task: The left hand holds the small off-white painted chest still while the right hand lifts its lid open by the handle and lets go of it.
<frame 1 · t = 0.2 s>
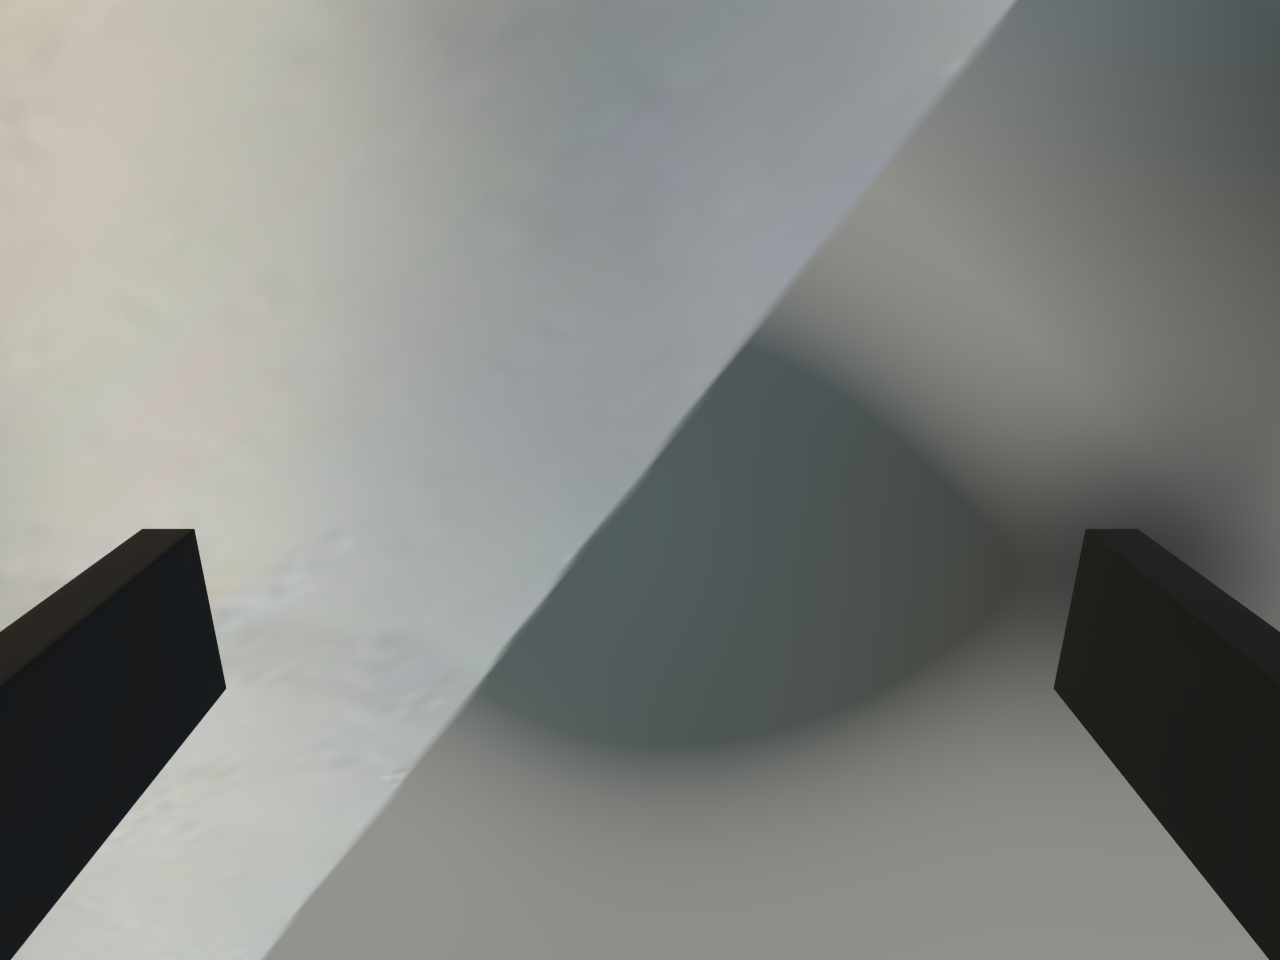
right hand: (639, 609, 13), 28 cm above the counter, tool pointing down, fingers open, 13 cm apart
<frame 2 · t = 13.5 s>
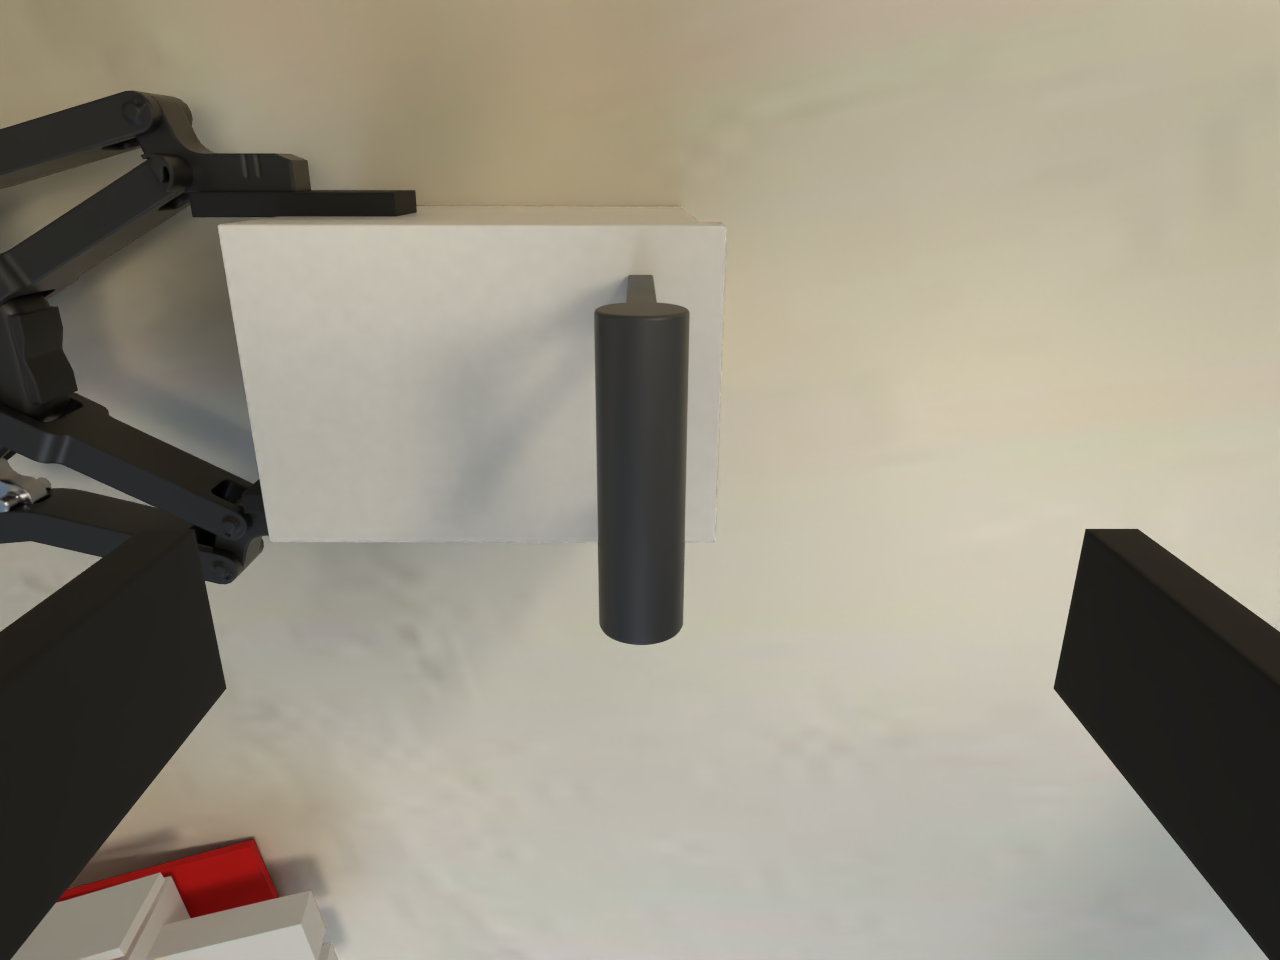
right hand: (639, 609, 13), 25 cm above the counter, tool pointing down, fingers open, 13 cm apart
left hand: (419, 355, 30), fingers closed on chest, 9 cm apart
lid: (460, 427, 22), point 16 cm above the counter, hinge at 0.0°
toy: (94, 920, 48), on the counter
chest: (525, 322, 36), on the counter, touching left hand
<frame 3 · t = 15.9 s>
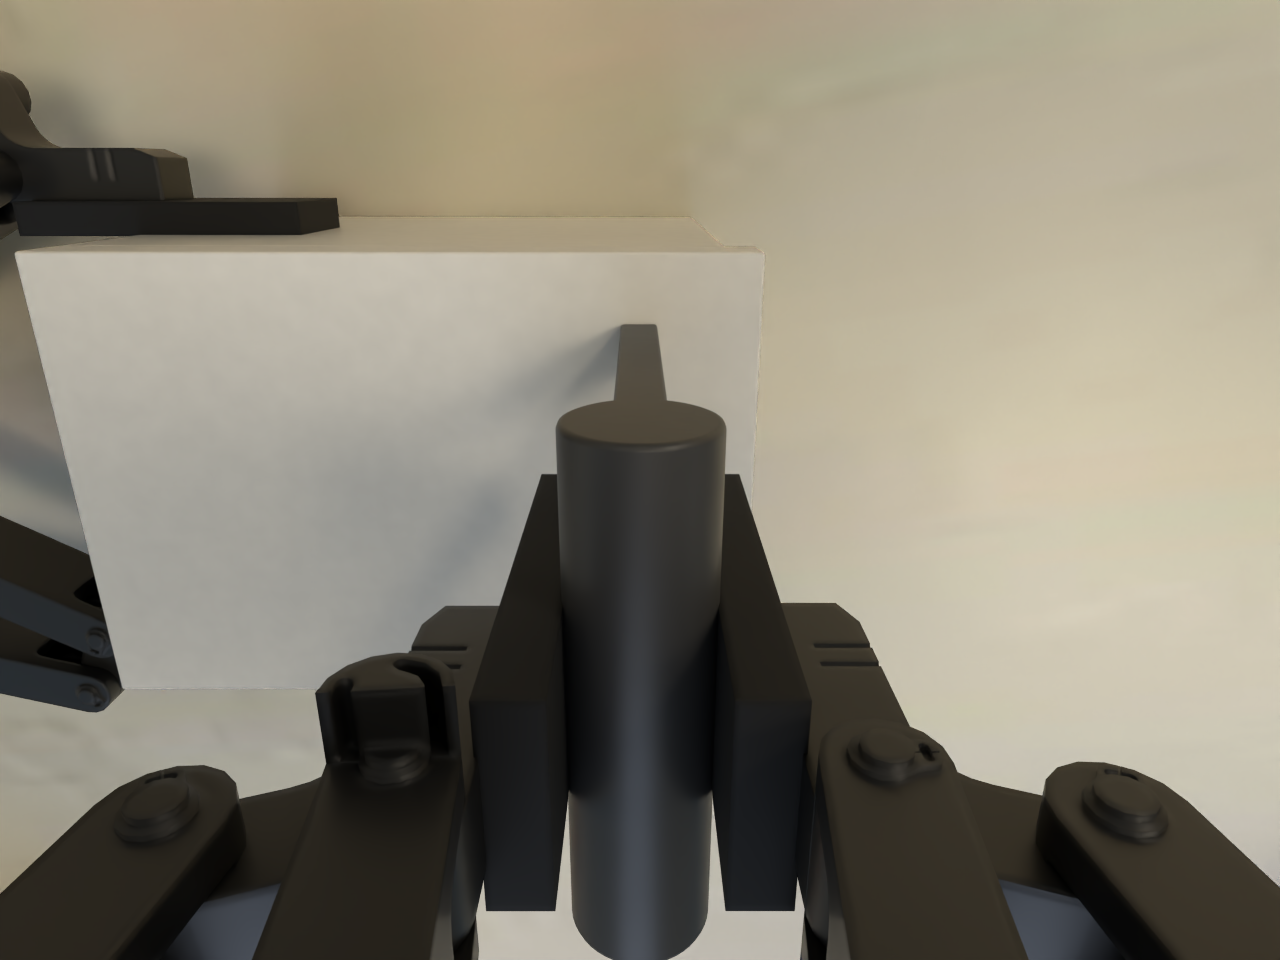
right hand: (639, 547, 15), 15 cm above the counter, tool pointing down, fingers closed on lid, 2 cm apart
lid: (363, 564, 14), point 16 cm above the counter, hinge at -0.1°, touching right hand
chest: (493, 362, 29), on the counter, touching left hand
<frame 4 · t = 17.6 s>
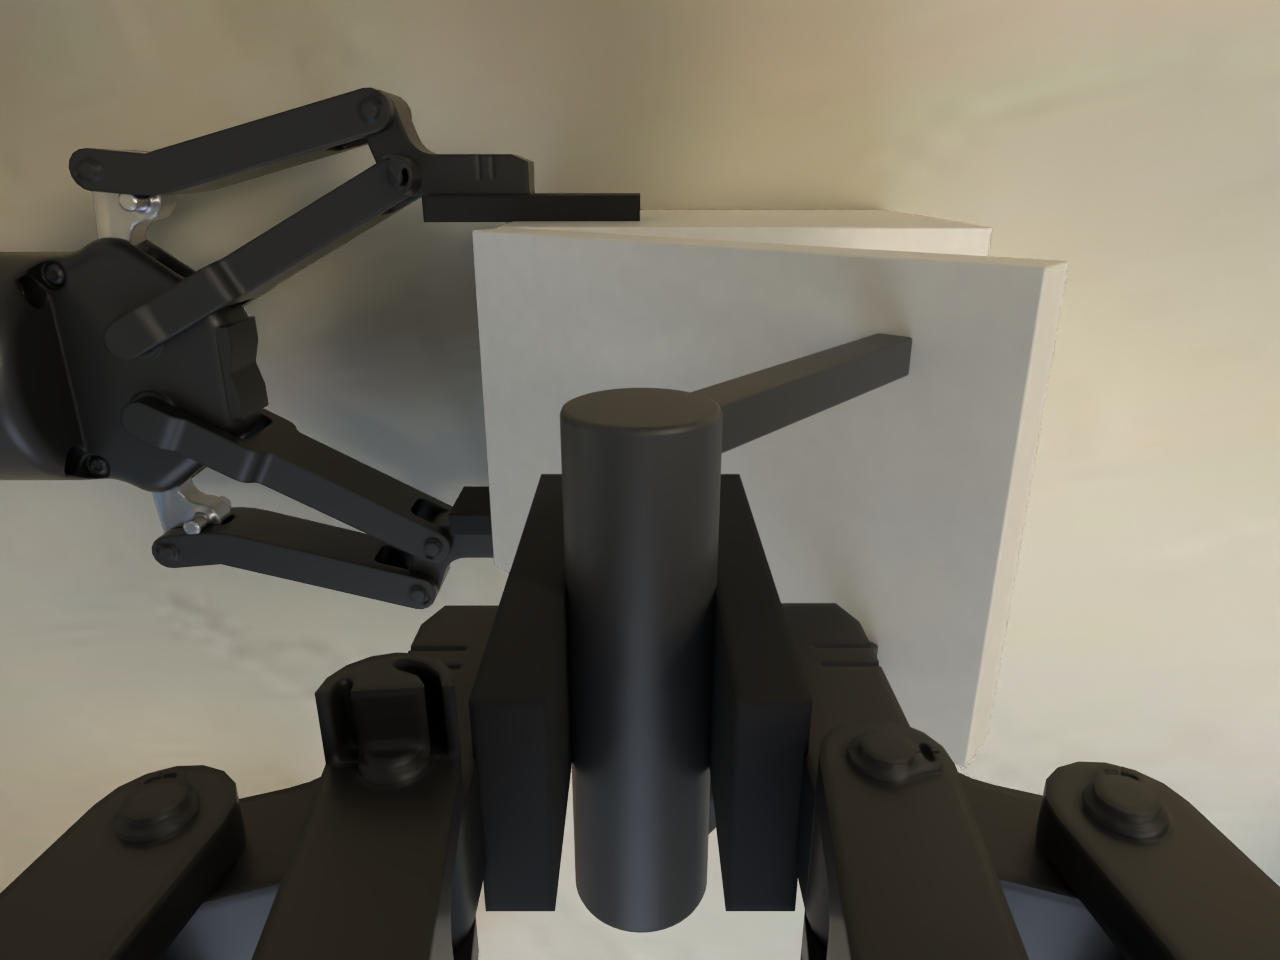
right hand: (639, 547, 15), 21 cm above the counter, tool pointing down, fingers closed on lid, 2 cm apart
left hand: (639, 367, 28), fingers closed on chest, 10 cm apart
lid: (581, 505, 17), point 19 cm above the counter, hinge at 39.2°, touching right hand
chest: (711, 332, 34), on the counter, touching left hand
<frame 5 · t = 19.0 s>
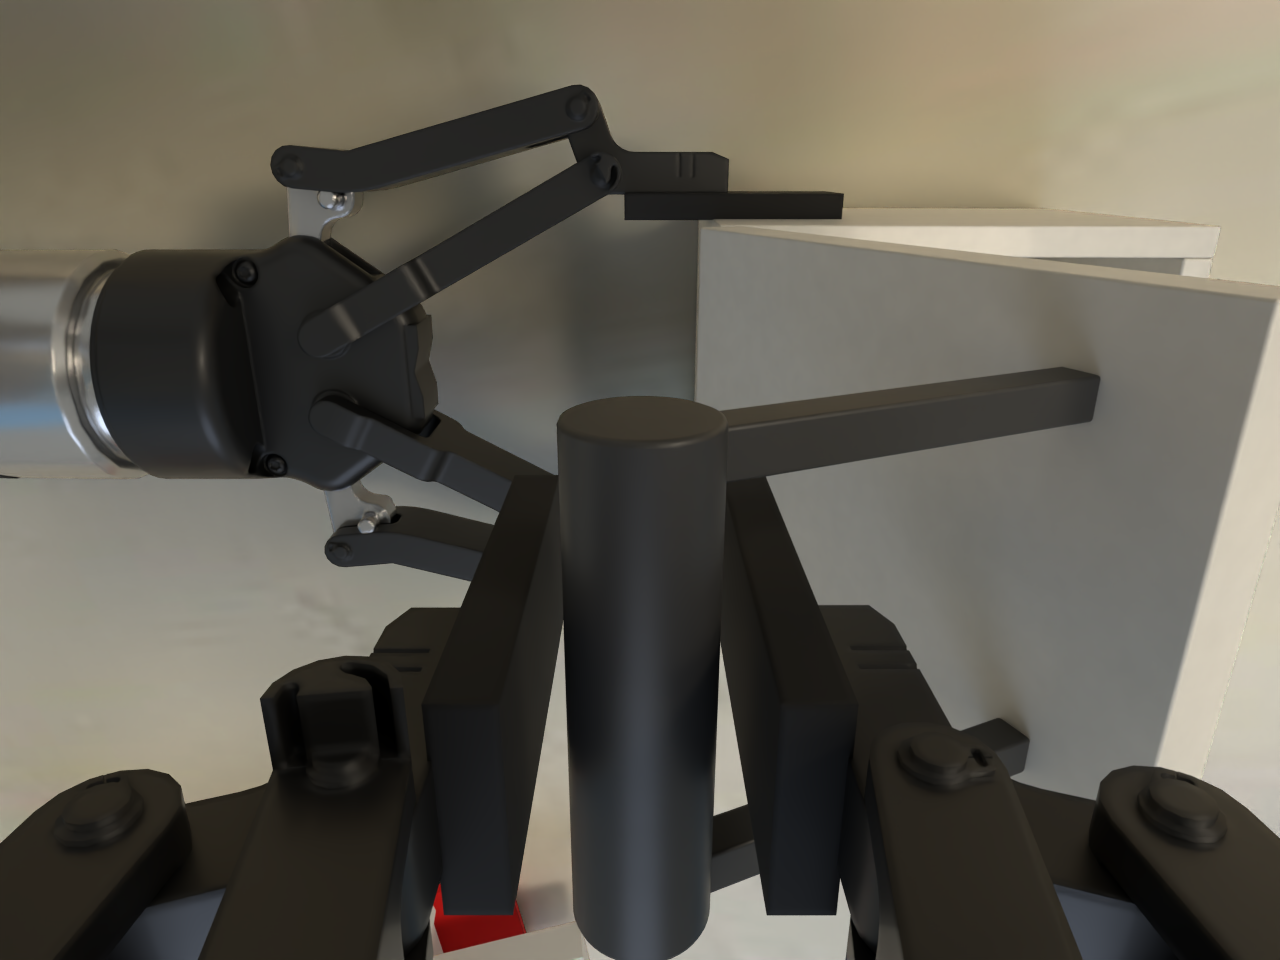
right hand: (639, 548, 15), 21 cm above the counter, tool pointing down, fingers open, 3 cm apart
left hand: (820, 366, 28), fingers closed on chest, 9 cm apart
lid: (714, 514, 16), point 20 cm above the counter, hinge at 64.3°
toy: (328, 948, 46), on the counter
chest: (859, 330, 34), on the counter, touching left hand
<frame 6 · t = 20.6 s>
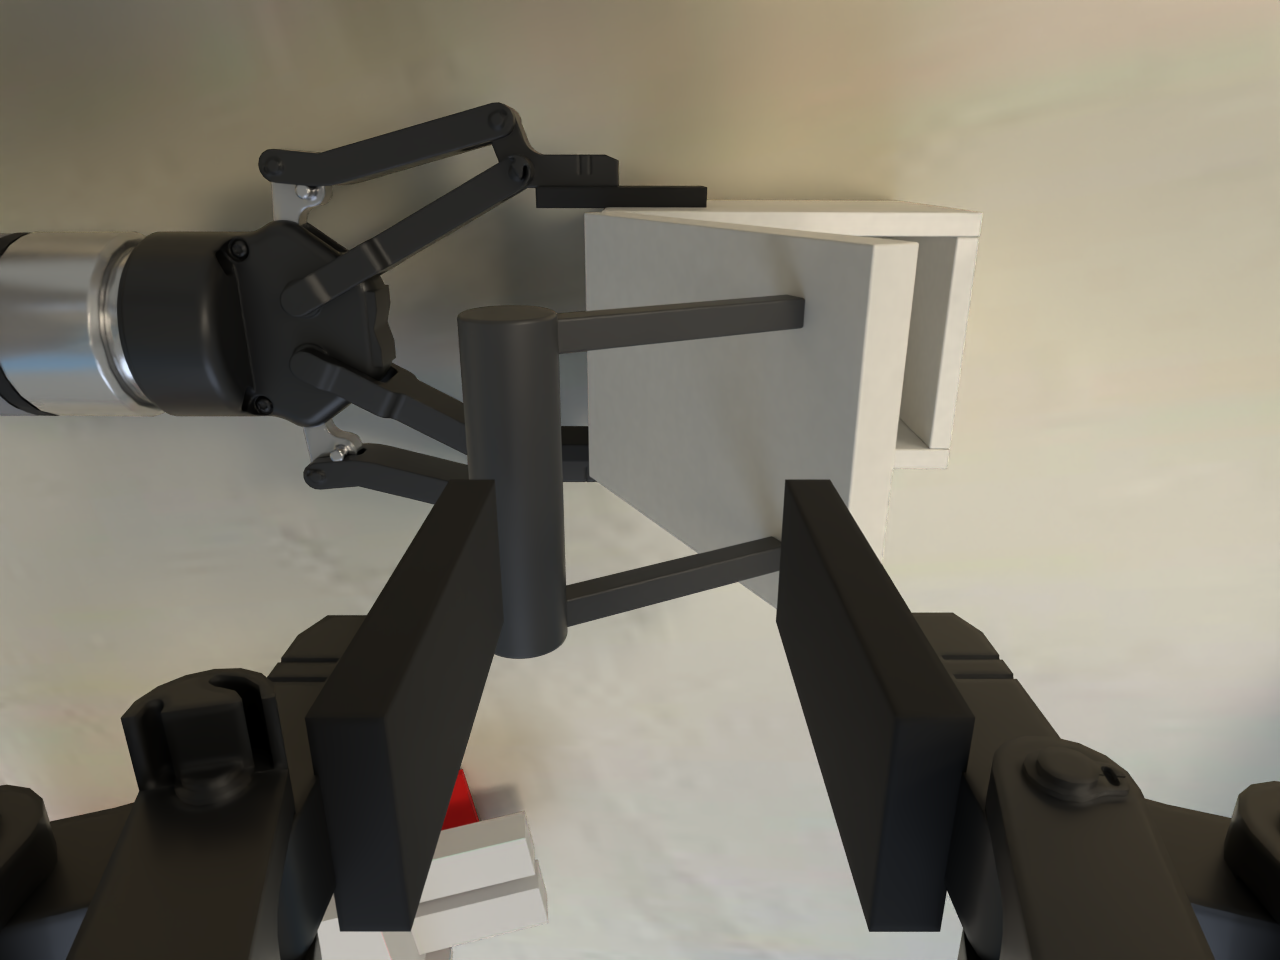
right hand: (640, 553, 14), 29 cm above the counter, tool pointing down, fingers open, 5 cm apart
left hand: (700, 326, 35), fingers closed on chest, 9 cm apart
lid: (583, 410, 23), point 20 cm above the counter, hinge at 60.8°
toy: (310, 845, 53), on the counter
chest: (750, 302, 41), on the counter, touching left hand
when the left hand's fingers open (7 cm above the counter, at t = 23.1 s): chest stays where it is, on the counter.
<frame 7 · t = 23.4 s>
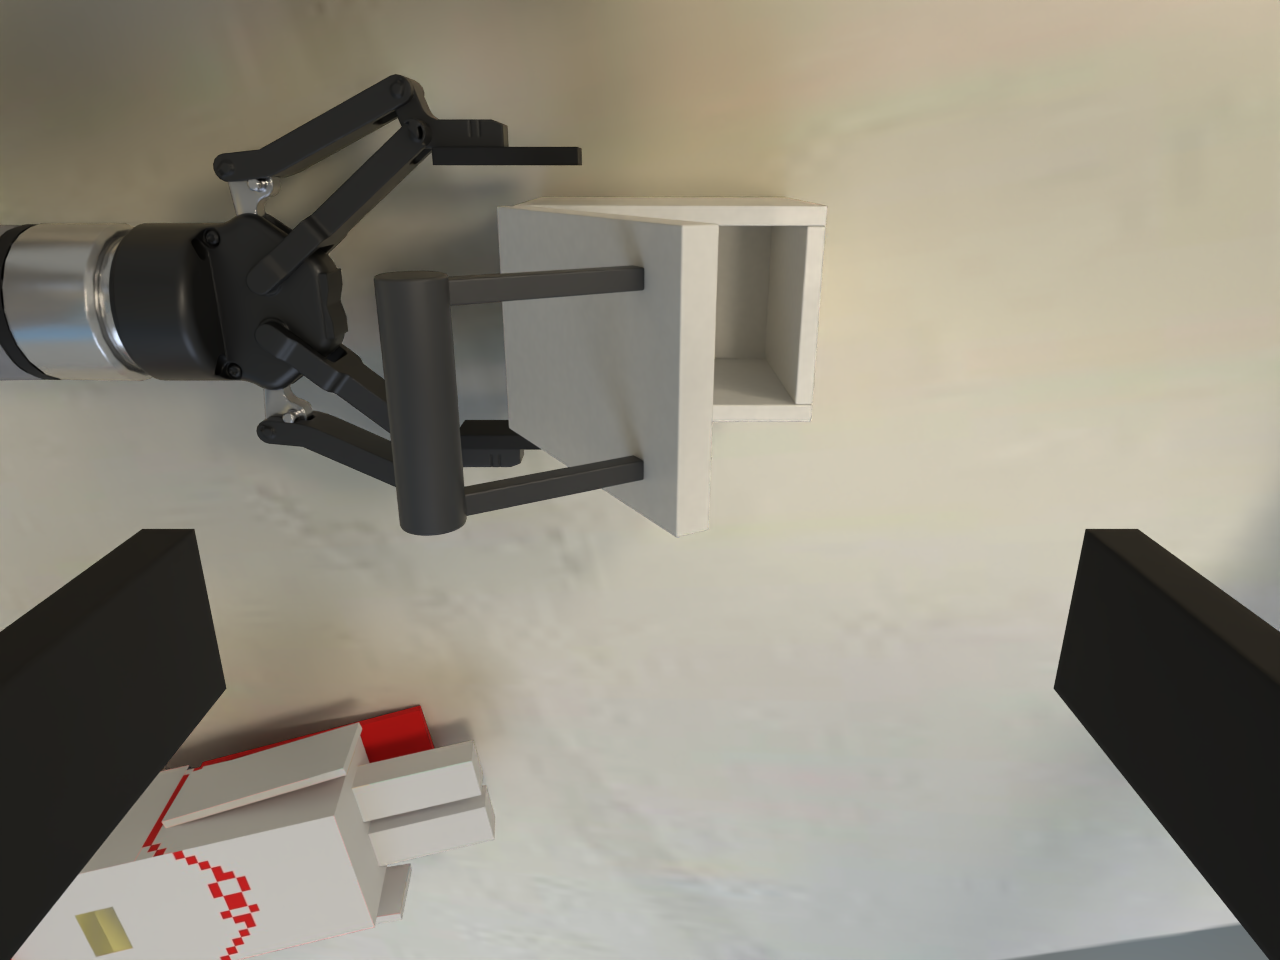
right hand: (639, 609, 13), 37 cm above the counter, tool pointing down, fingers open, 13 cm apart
left hand: (584, 303, 41), fingers open, 13 cm apart
lid: (487, 360, 29), point 20 cm above the counter, hinge at 59.5°
toy: (285, 776, 59), on the counter
chest: (662, 286, 48), on the counter
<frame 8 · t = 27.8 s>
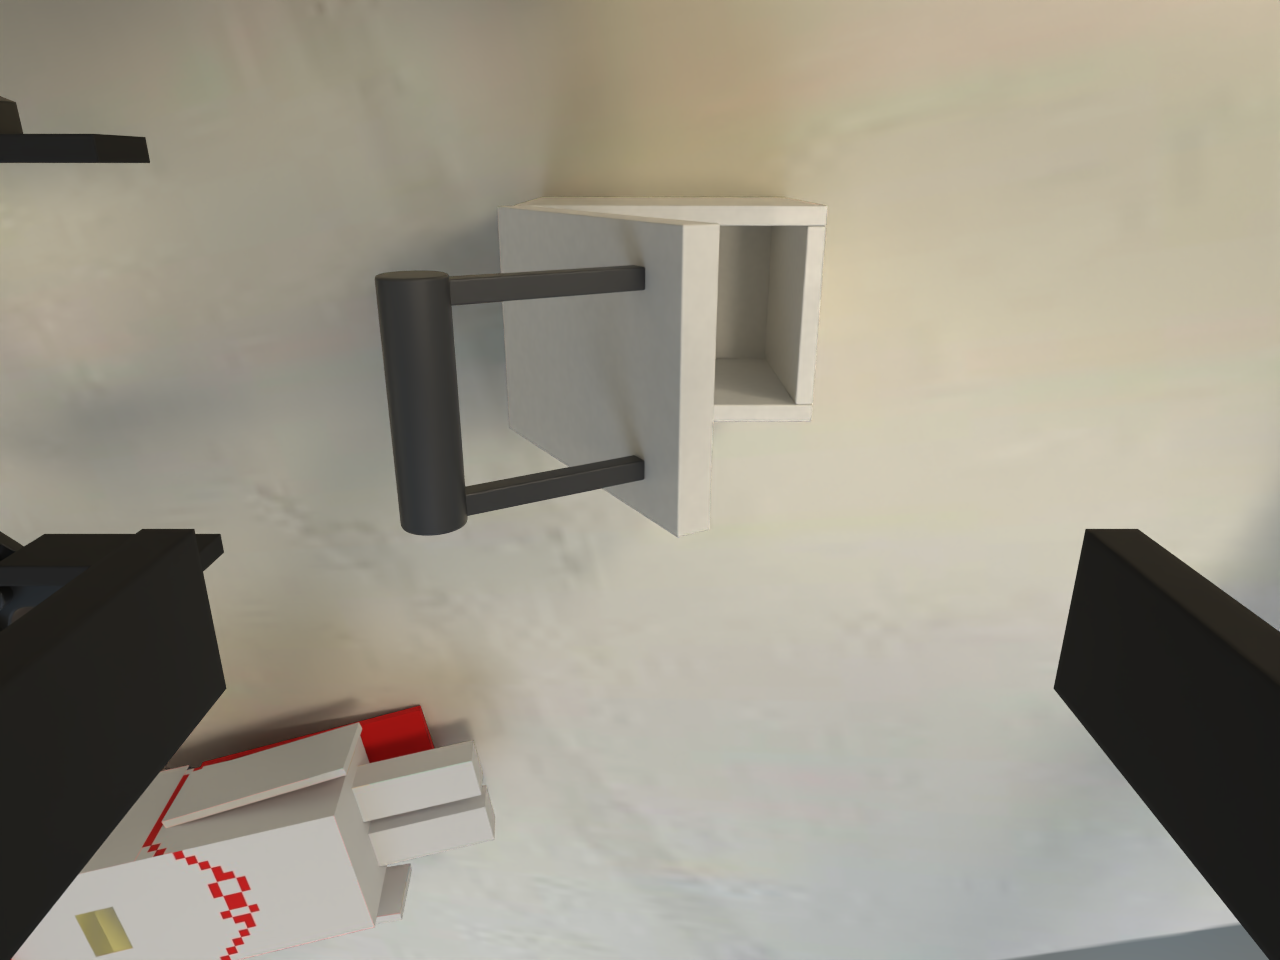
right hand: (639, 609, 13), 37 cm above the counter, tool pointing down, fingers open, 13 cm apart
lid: (488, 360, 29), point 20 cm above the counter, hinge at 59.4°
toy: (285, 776, 59), on the counter
chest: (662, 286, 48), on the counter
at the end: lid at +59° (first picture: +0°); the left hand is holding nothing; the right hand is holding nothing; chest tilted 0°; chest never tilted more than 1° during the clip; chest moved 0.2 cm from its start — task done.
